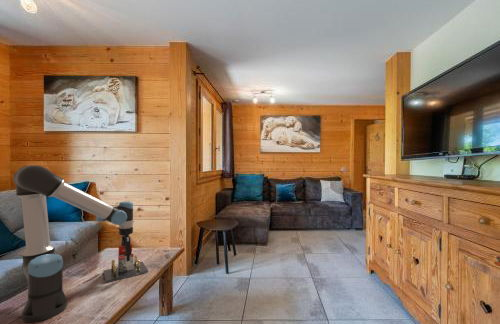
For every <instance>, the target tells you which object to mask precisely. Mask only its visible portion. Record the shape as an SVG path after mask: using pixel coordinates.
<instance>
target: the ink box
mask: <svg viewBox="0 0 500 324" xmlns="http://www.w3.org/2000/svg"><path fill="white" fill-rule="evenodd" d="M130 244H131V243H130ZM123 247H125V246H121V245H119V246H118V254H117V258H118V259H117V262H118V263H117V267H118V272H119V273H121V272H125V271H129V270H133V269H134V256H135V255H134V252H133V243H132V244H131V263H130V266H128V267H125V256H124V255H125V254H126V253H125V248H123Z"/></svg>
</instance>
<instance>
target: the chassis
mask: <svg viewBox="0 0 500 324" xmlns="http://www.w3.org/2000/svg"><path fill="white" fill-rule="evenodd" d="M102 273H103V277H104V281H105V283H106V284H107V283H111V282H114V281H120V280H123V279H127V278H130V277H134V276H135V277H136V276H138V275H144V274H146V273H149V269H148V267H147V266H146V265H145V263H144V262H143V261H141V259H138V255H134V269H133V270H129V271H125V272H121V273H119V272H118V266H117V264H115V259H113V260H111V268H109V269H104V270H103V271H102Z"/></svg>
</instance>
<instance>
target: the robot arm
mask: <svg viewBox="0 0 500 324" xmlns="http://www.w3.org/2000/svg"><path fill="white" fill-rule="evenodd" d="M13 183H14V184H15V194H16V197H18V198H20V200H21V208H22V218H23V228H24V229H23V230H24V238H25V239H24V240H25V250H24V251H23V252H22V256H21V257H22V265H21V270H22V273H23V274H24V276H25V277H26V279H27V300H26V302H25V305H24V307H23V309H22V313H21V321H22V322H24V323H37V322H41V321H42V322H43V321H44V320H48V319H50V318H52V317H55V316H57V315H59V314H60V313H62V312H63V311H65V310H66V308H67V307H68V298H67V297H66V294H65V292H64V288H63V286H64V285H63V283H64V282H63V279H64V277H63V276H64V275H63V274H64V273H63V272H64V269H63V267H64V261H63V260H64V259H63V256H62V255H60V254H57V253H56V249H55V245H53V244H51V238H50V227H49V226H50V225H49V217H48V216H49V214H48V205H47V197H48V198H51V197H52V198H53V197H54V198H56V199H58V200H60V201H62V202H65V203H67V204H68V205H71V206H74V207H75V208H78V209H79V210H82V211H84V212H87V213H89V214H90V215H91V214H92V216H95V219H96V222H99V223H102V222H107V223H111V224H113V225H115V226H117V225H118V227H119V228H118V235H119V236H121V245H120V246H125V247H123V248H125V253H126V254H125V255H124V256H125V267H128V266H130V263H131V236H130V235H131V234H133V233H134V223H135V221H134V202H132V201H130V200H128V201H127V200H126V201H120V202H119V203H118V205H116V206H112V205H111V204H109V203H107V202H105V201H103V200H101V199H98V198H97V197H95V196H94V195H91V194H90V193H87V192H86V191H83V190H81V189H79V188H77V187H75V186H73V185H71V184H69V183H67V182H65V179H64V178H63V177H60V176H58V175H57V174H55V173H54V172H53V171H51V170H49V169H47V168H46V167H45V166H43V165H42V166H41V165H31V164H30V165H25V166H22V167H20V168H19V169H18V170H16V172H15V173H14V175H13Z"/></svg>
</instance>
